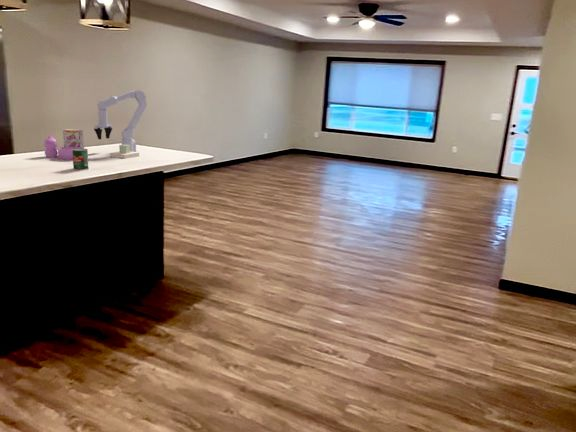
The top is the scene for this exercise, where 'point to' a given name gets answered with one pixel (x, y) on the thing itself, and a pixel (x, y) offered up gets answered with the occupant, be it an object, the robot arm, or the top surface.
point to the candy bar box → (73, 138)
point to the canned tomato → (80, 159)
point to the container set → (62, 153)
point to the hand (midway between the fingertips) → (103, 138)
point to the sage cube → (124, 148)
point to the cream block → (124, 154)
